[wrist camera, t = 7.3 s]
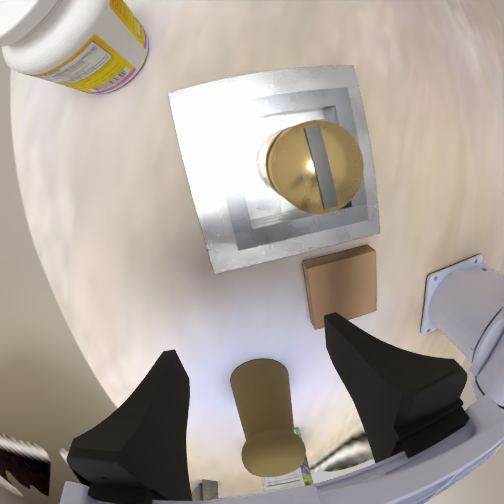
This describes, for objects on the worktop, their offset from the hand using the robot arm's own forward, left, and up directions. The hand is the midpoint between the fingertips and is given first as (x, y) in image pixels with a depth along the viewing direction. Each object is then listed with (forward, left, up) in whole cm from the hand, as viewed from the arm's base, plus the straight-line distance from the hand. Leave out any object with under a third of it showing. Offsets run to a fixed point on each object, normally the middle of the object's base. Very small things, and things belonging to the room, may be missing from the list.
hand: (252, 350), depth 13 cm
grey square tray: (-5, -7, -10) cm, 13 cm away
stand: (-8, +4, -10) cm, 14 cm away
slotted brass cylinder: (-6, -7, -10) cm, 13 cm away
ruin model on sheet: (+18, +43, -11) cm, 48 cm away
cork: (+1, +13, -11) cm, 17 cm away
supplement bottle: (+6, -19, -11) cm, 23 cm away
